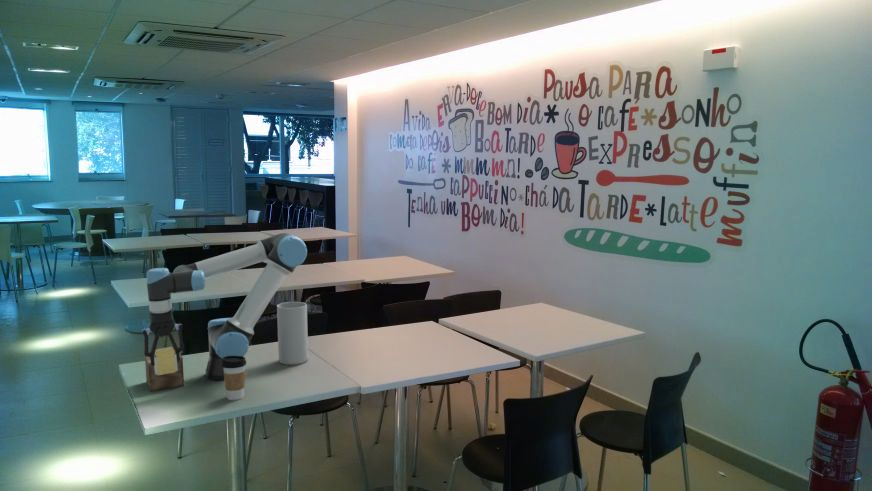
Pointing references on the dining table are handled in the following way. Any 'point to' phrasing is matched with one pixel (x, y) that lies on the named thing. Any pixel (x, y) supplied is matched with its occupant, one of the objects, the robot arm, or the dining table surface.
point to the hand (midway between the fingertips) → (166, 371)
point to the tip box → (164, 376)
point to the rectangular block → (165, 360)
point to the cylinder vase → (292, 333)
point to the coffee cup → (234, 376)
